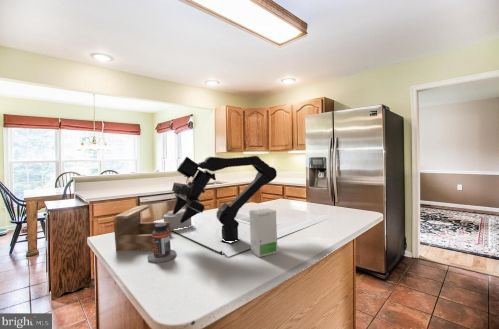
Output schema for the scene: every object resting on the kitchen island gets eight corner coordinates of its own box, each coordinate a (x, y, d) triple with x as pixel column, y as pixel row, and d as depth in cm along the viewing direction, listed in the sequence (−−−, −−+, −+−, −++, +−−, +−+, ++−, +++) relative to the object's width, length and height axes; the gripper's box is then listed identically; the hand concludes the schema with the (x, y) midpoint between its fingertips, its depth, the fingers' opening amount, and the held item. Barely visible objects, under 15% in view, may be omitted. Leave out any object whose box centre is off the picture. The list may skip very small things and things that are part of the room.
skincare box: (258, 257, 88) (256, 214, 87) (249, 251, 94) (247, 210, 93) (278, 252, 92) (276, 210, 91) (269, 246, 98) (267, 207, 97)
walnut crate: (170, 234, 118) (168, 205, 117) (153, 250, 100) (150, 215, 99) (138, 235, 119) (136, 206, 118) (115, 250, 101) (113, 216, 100)
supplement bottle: (150, 256, 92) (148, 225, 91) (164, 250, 97) (162, 221, 96) (160, 259, 89) (158, 227, 88) (174, 253, 93) (172, 223, 93)
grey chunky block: (193, 227, 128) (192, 210, 127) (166, 232, 121) (165, 214, 121) (187, 222, 137) (186, 207, 136) (162, 227, 130) (161, 210, 130)
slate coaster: (181, 255, 93) (181, 253, 93) (157, 265, 86) (156, 263, 86) (166, 249, 100) (166, 247, 100) (142, 258, 92) (142, 256, 92)
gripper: (175, 169, 104) (153, 202, 102) (191, 180, 89) (166, 219, 87) (196, 181, 111) (176, 212, 108) (214, 194, 95) (191, 230, 93)
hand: (177, 218), depth 99 cm, fingers open, 9 cm apart
